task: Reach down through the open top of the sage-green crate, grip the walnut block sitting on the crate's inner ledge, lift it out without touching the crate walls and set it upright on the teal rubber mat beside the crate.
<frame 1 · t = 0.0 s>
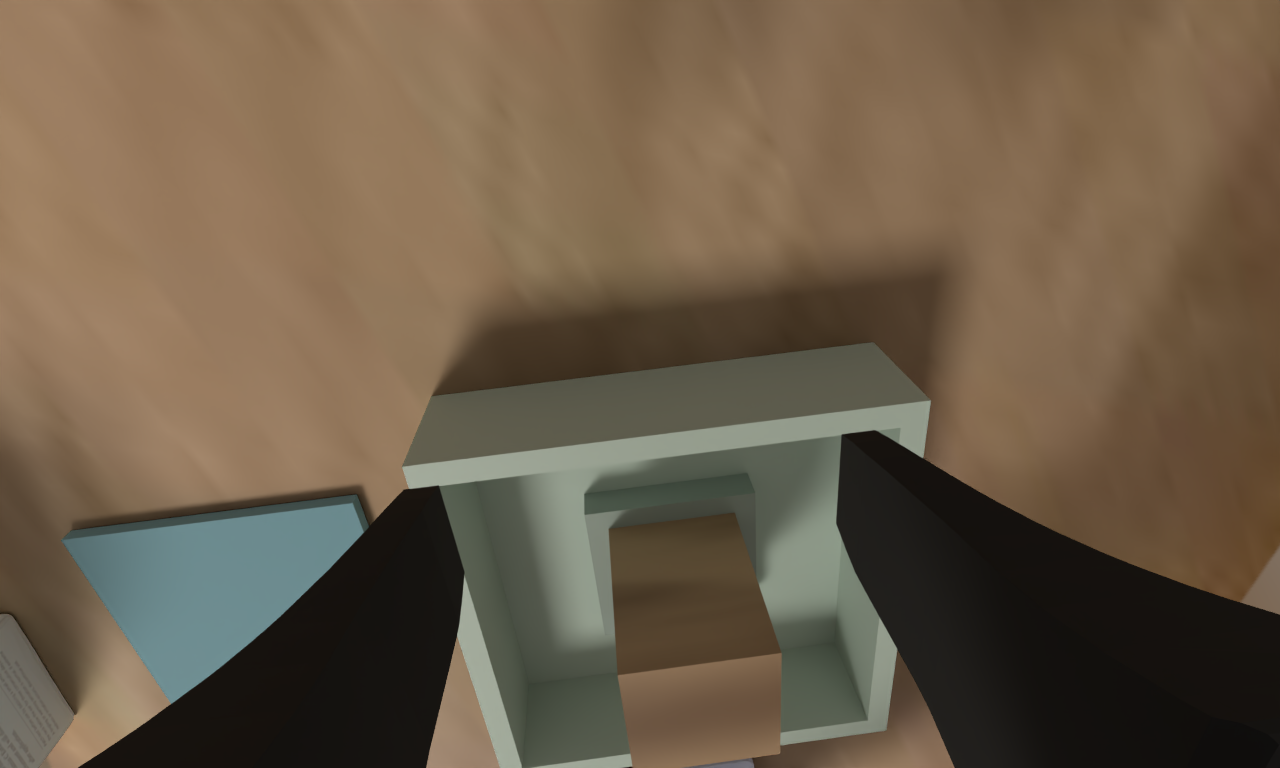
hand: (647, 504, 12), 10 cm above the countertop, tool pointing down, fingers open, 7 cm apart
teal mat: (266, 612, 25), on the countertop
walnut block: (676, 568, 24), point 2 cm above the countertop, touching crate
crate: (669, 532, 26), on the countertop, touching walnut block
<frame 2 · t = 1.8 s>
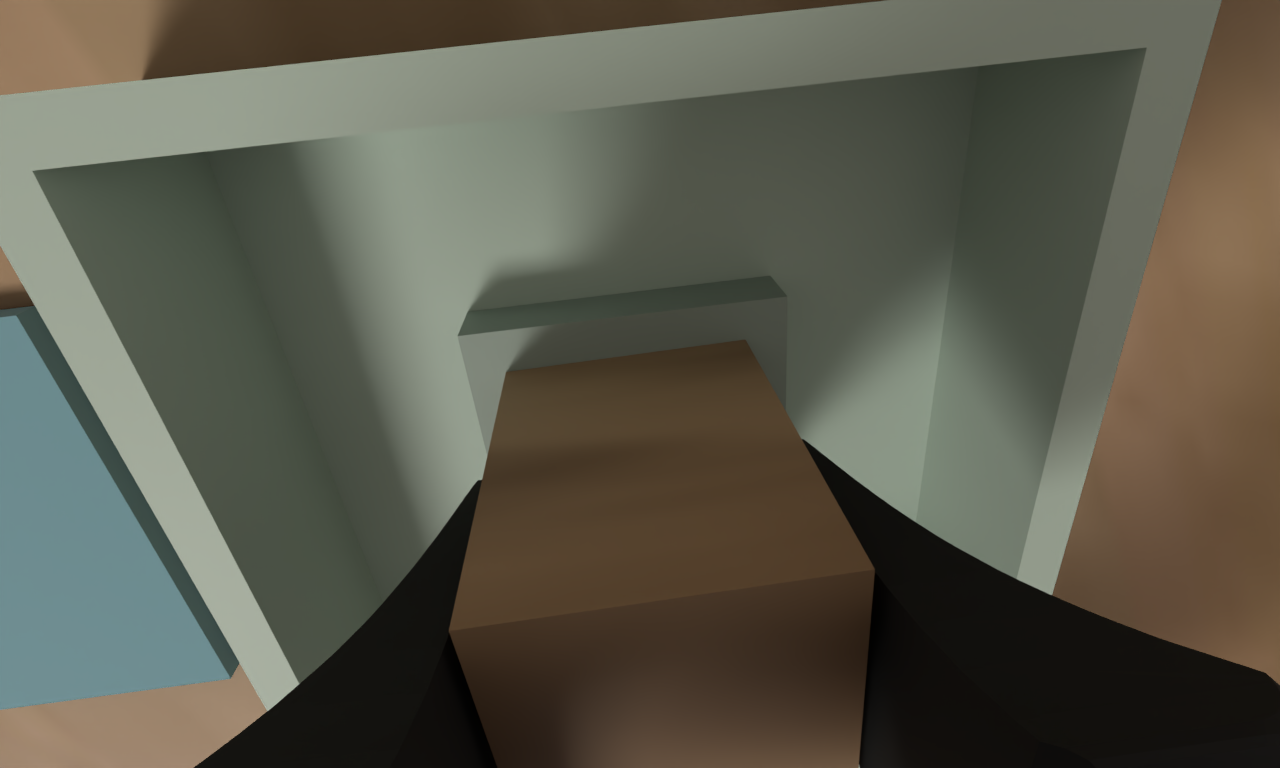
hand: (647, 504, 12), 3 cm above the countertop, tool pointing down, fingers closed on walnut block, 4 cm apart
walnut block: (639, 455, 13), point 2 cm above the countertop, touching crate, gripper
crate: (632, 404, 15), on the countertop, touching walnut block
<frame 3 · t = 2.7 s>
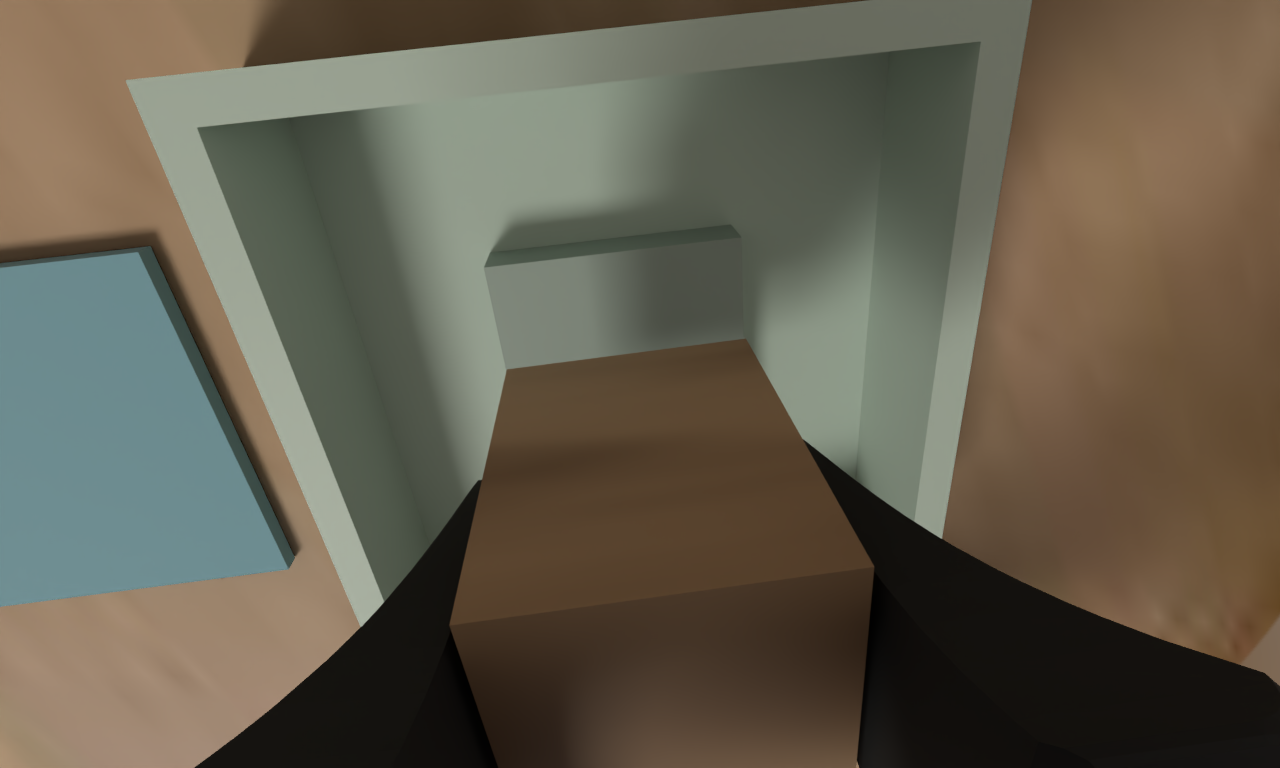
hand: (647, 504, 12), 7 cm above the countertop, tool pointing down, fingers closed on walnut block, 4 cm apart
teal mat: (47, 445, 18), on the countertop
walnut block: (639, 453, 13), point 5 cm above the countertop, touching gripper
crate: (622, 335, 18), on the countertop
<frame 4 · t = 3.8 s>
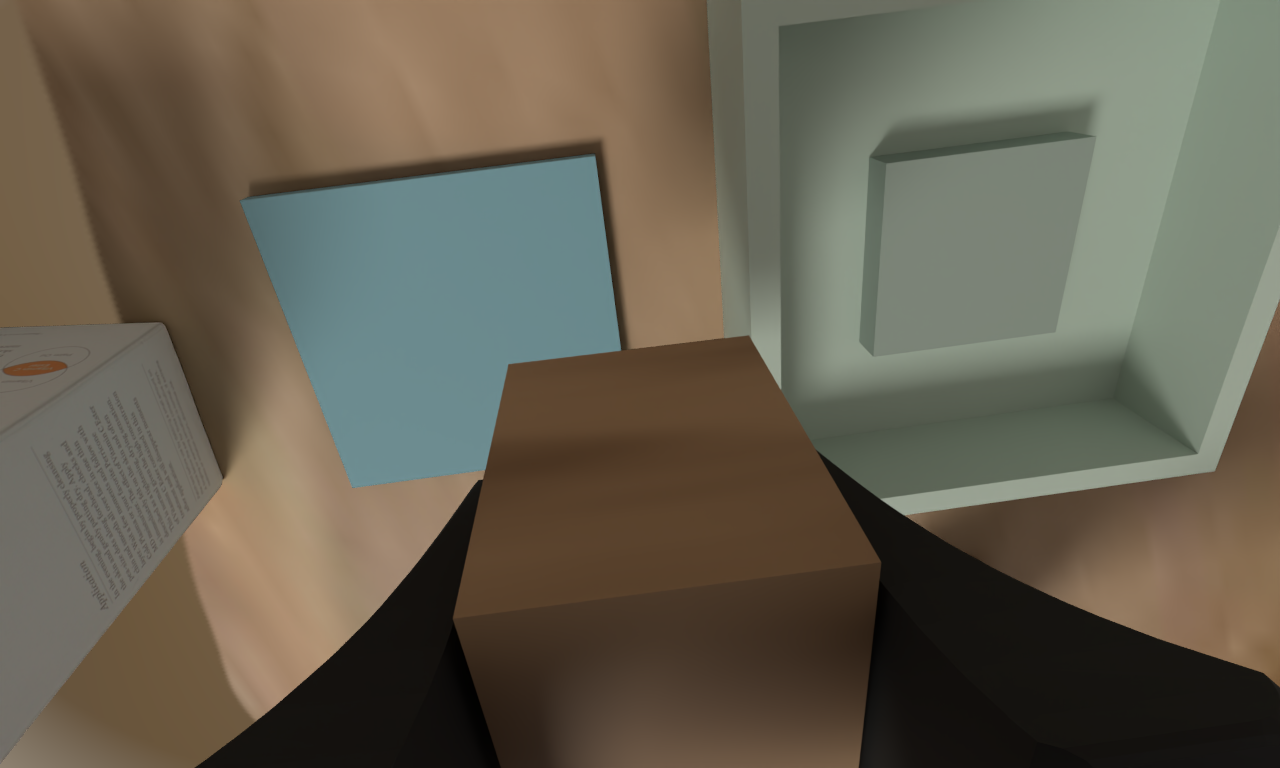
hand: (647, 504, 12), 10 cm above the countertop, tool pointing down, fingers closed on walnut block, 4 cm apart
teal mat: (463, 333, 21), on the countertop
walnut block: (640, 450, 13), point 9 cm above the countertop, touching gripper
crate: (944, 236, 21), on the countertop
small box: (78, 410, 21), on the countertop
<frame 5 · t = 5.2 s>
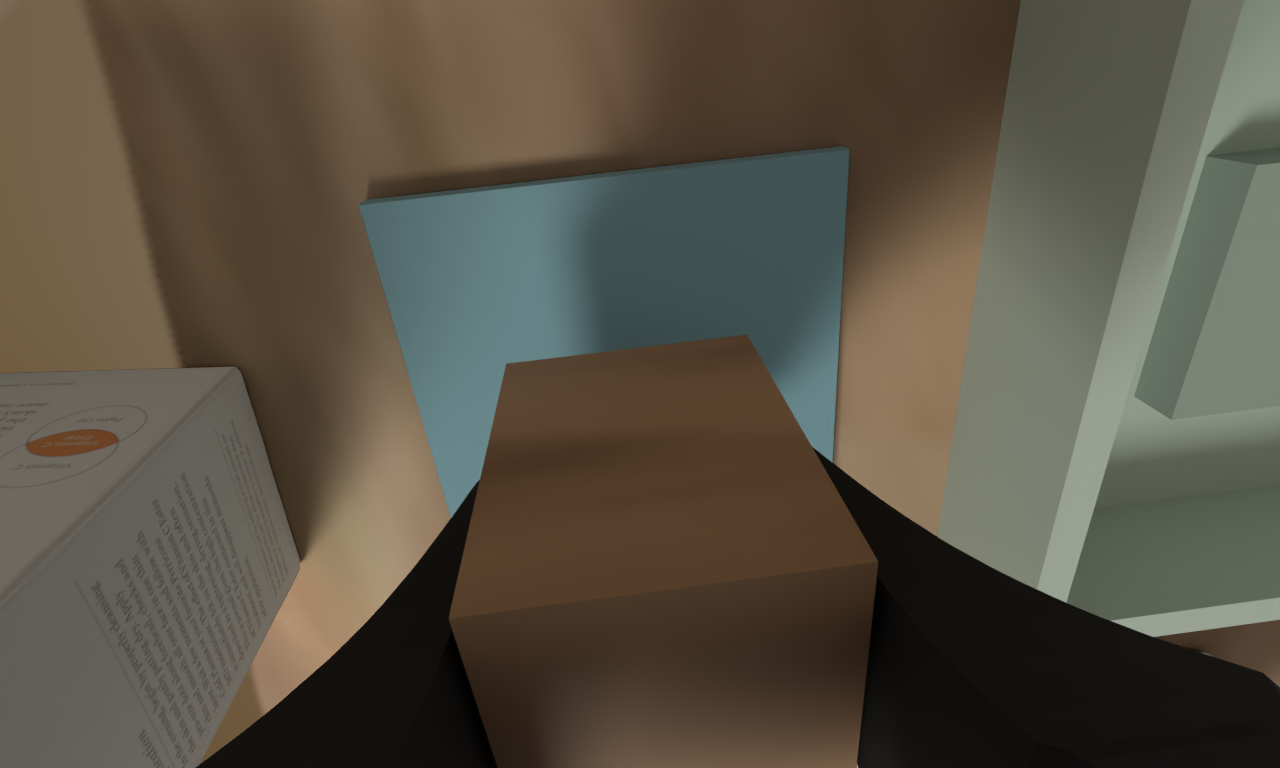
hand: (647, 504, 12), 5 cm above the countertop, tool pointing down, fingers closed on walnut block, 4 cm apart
teal mat: (630, 382, 16), on the countertop
walnut block: (638, 449, 13), point 3 cm above the countertop, touching gripper
crate: (1257, 262, 16), on the countertop
small box: (117, 476, 16), on the countertop
when the fingers open (3 cm above the countertop, at t = 6.0 s): walnut block drops 1 cm, resting on teal mat.
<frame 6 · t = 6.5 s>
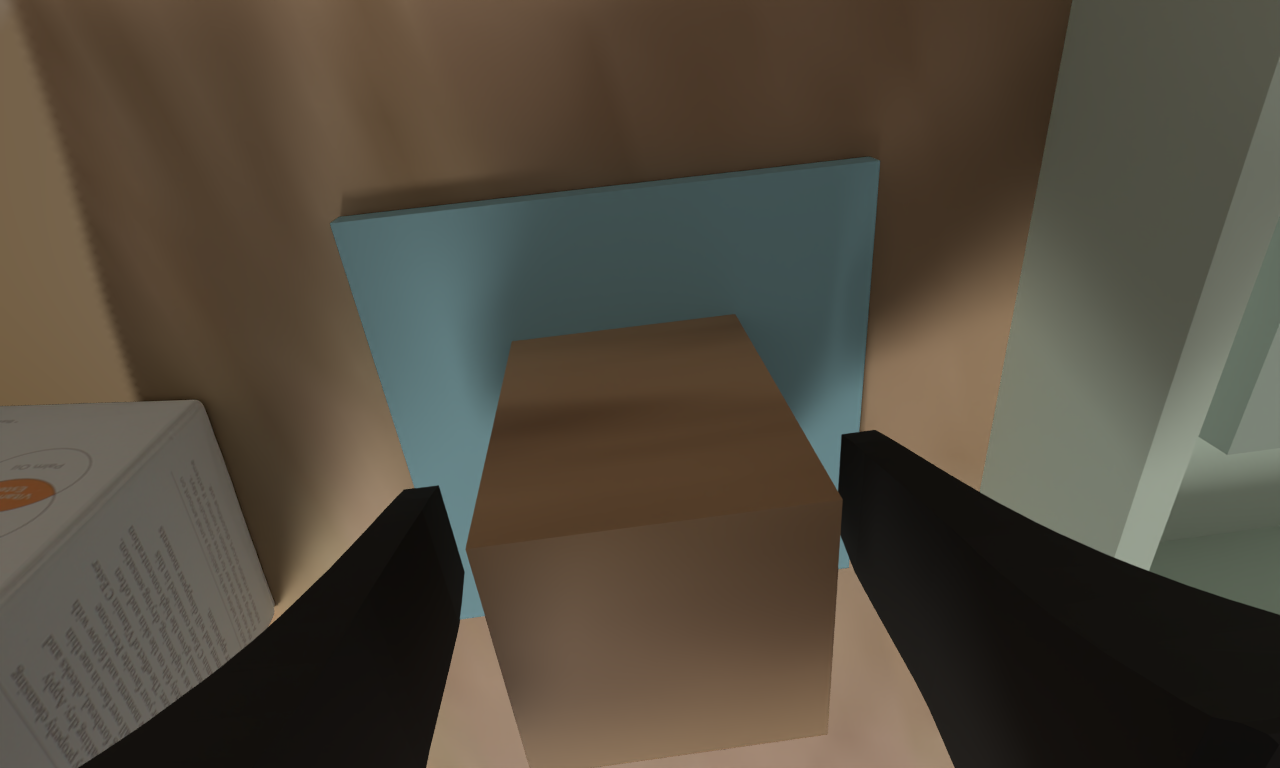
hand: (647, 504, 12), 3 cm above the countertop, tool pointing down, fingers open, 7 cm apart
teal mat: (633, 414, 14), on the countertop
walnut block: (635, 423, 14), resting on teal mat
small box: (71, 517, 15), on the countertop
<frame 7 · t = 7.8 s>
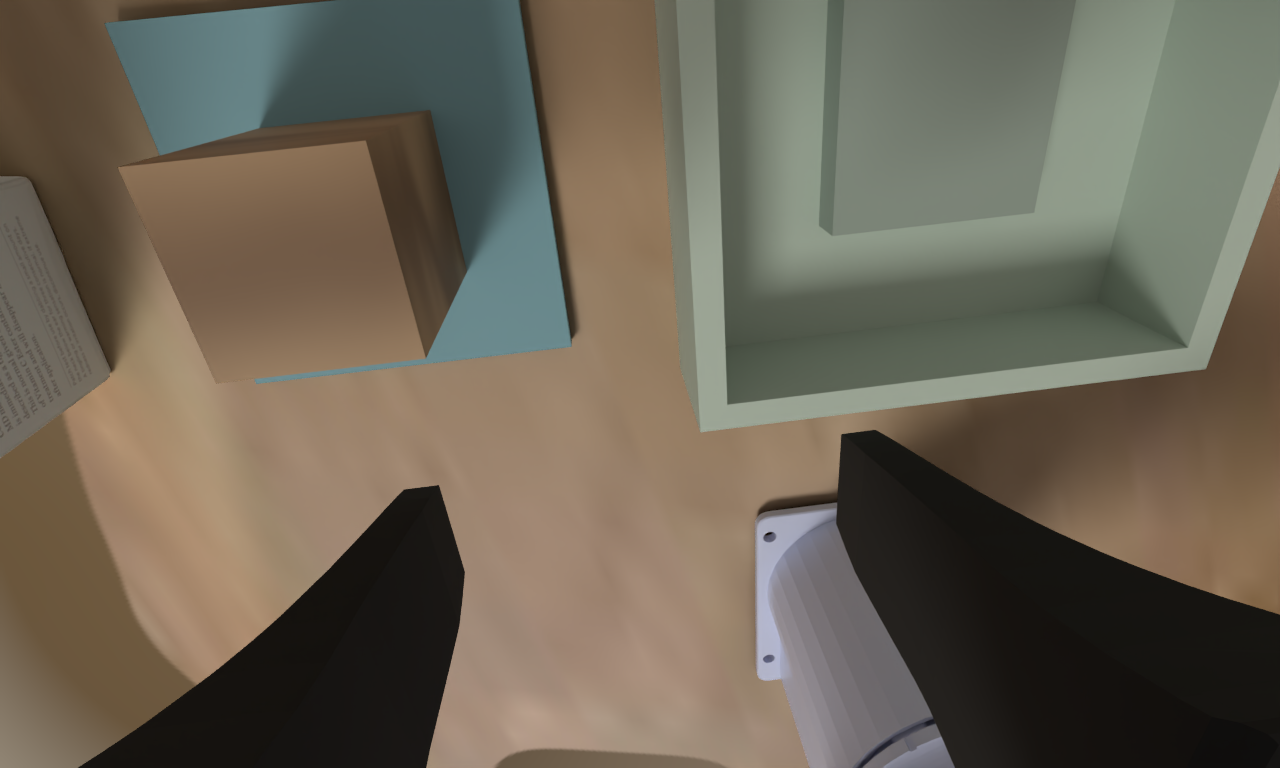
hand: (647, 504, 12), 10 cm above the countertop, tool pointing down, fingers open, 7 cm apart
teal mat: (375, 203, 19), on the countertop
walnut block: (369, 204, 18), resting on teal mat
crate: (913, 106, 19), on the countertop
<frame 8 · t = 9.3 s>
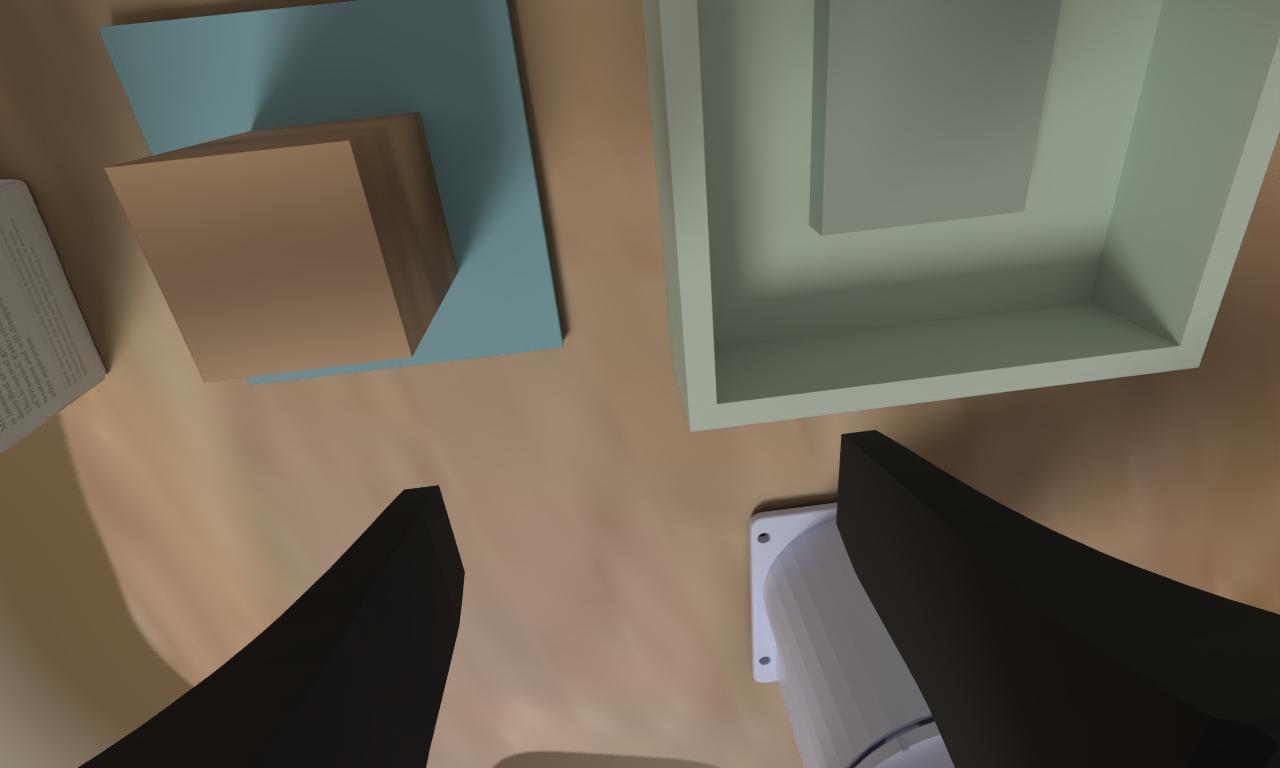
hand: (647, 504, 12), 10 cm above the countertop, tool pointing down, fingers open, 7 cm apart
teal mat: (366, 205, 19), on the countertop
walnut block: (360, 206, 18), resting on teal mat
crate: (902, 106, 19), on the countertop
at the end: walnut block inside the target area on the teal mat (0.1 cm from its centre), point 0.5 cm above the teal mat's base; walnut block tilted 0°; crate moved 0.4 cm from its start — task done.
